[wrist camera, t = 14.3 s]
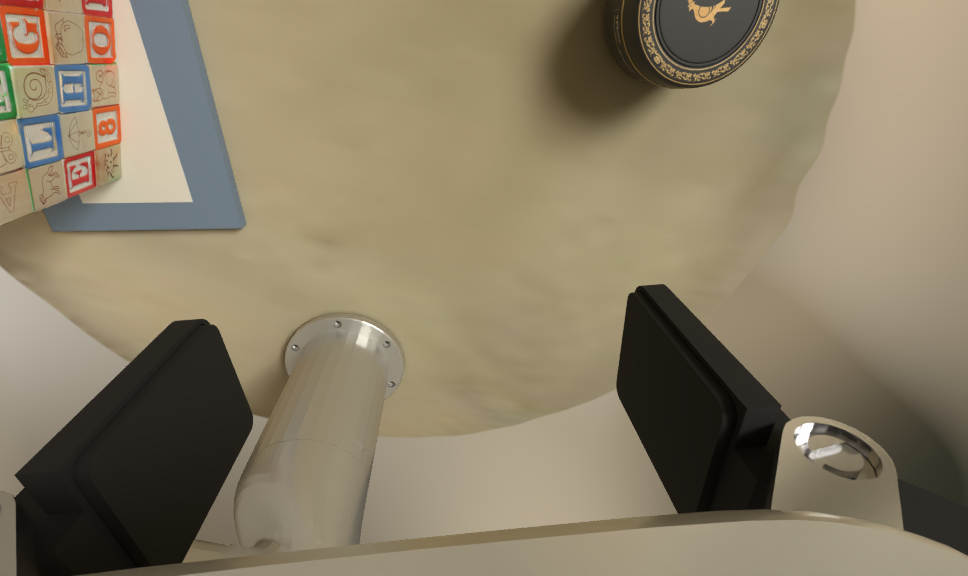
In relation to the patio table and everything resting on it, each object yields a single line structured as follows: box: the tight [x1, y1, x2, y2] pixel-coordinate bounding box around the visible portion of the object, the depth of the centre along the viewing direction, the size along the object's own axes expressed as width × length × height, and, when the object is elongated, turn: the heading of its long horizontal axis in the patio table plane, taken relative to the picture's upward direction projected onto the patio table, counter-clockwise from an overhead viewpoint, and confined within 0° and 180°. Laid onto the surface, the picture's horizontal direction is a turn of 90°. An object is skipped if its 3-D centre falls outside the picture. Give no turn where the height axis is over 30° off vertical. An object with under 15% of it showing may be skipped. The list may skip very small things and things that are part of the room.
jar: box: [605, 0, 779, 89], centre depth 31 cm, size 10×10×8 cm
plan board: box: [42, 0, 246, 231], centre depth 32 cm, size 30×16×1 cm, turn 179°
